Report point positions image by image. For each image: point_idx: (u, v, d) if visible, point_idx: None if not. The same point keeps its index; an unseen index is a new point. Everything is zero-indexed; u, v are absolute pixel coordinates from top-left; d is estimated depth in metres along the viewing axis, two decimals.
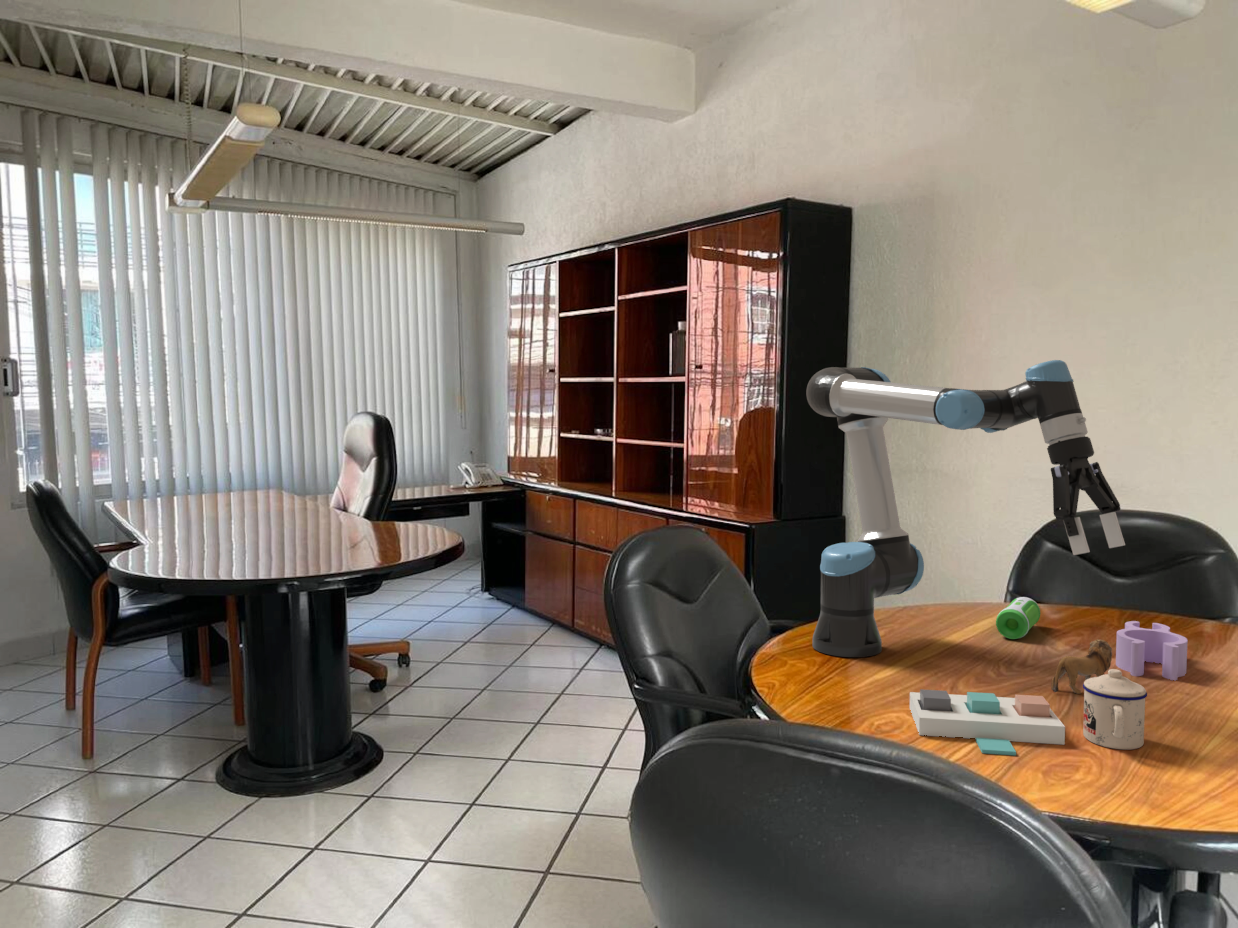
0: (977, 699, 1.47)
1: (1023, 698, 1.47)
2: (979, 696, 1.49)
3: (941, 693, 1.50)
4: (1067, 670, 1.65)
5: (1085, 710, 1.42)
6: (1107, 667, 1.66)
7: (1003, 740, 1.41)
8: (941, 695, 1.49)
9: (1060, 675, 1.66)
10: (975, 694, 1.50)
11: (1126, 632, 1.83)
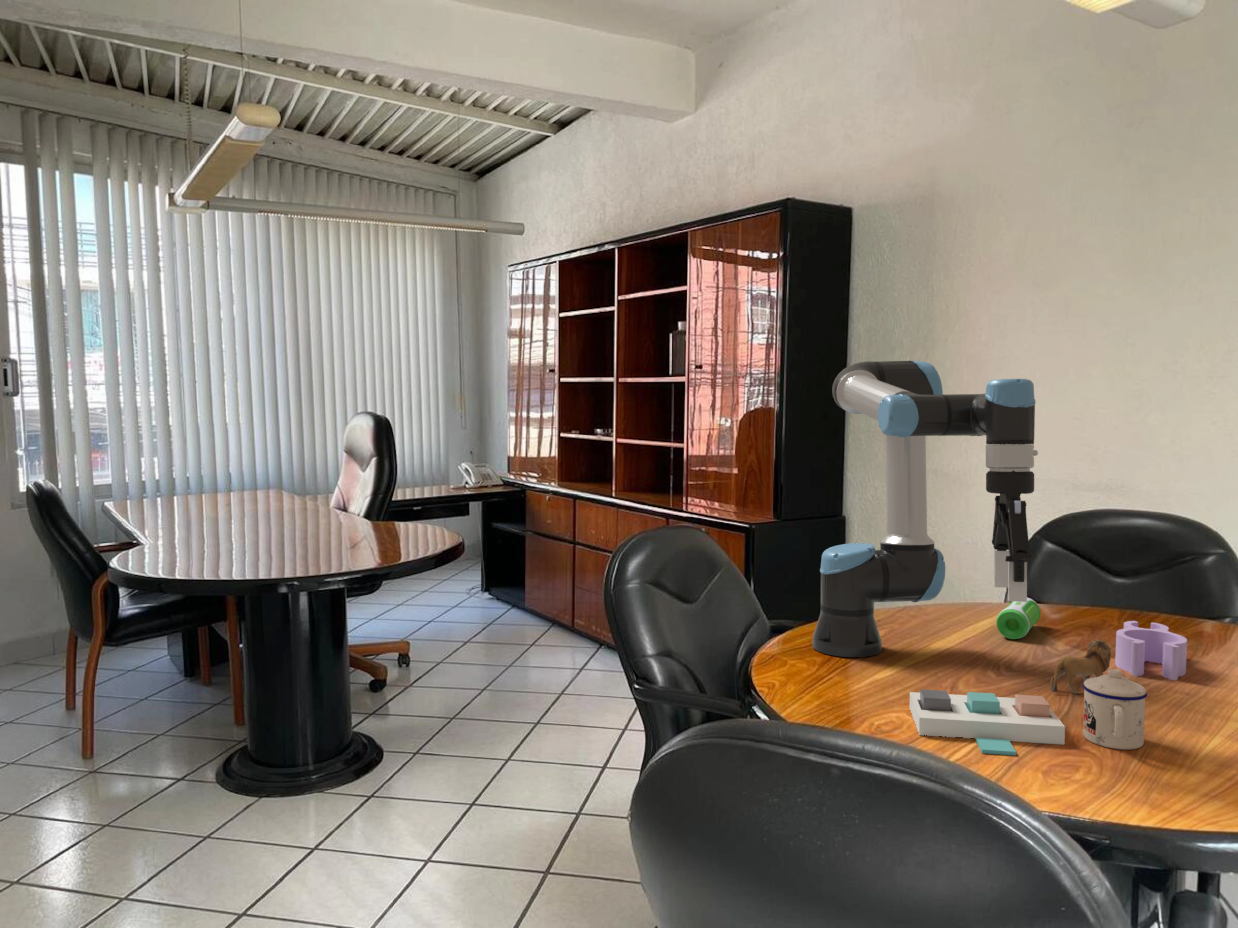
0: (977, 699, 1.47)
1: (1023, 698, 1.47)
2: (979, 696, 1.49)
3: (941, 693, 1.50)
4: (1066, 670, 1.65)
5: (1085, 710, 1.42)
6: (1106, 667, 1.66)
7: (1003, 740, 1.41)
8: (941, 695, 1.49)
9: (1059, 675, 1.66)
10: (975, 694, 1.50)
11: (1125, 632, 1.83)
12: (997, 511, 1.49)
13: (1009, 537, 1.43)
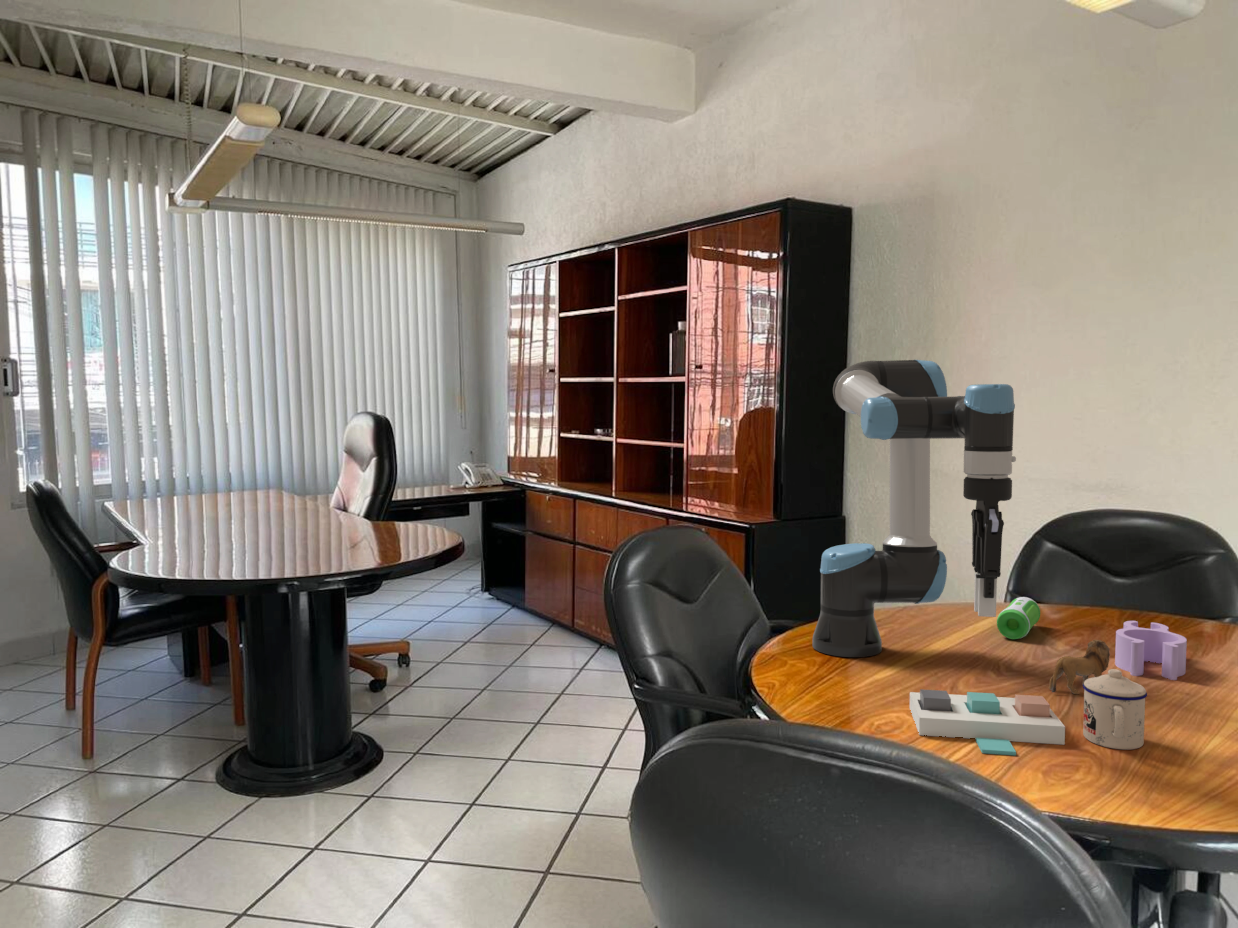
0: (977, 699, 1.47)
1: (1023, 698, 1.47)
2: (979, 696, 1.49)
3: (941, 693, 1.50)
4: (1065, 670, 1.64)
5: (1085, 710, 1.42)
6: (1105, 667, 1.66)
7: (1003, 740, 1.41)
8: (941, 695, 1.49)
9: (1058, 675, 1.66)
10: (975, 694, 1.50)
11: (1125, 632, 1.83)
12: (974, 516, 1.47)
13: (982, 553, 1.44)
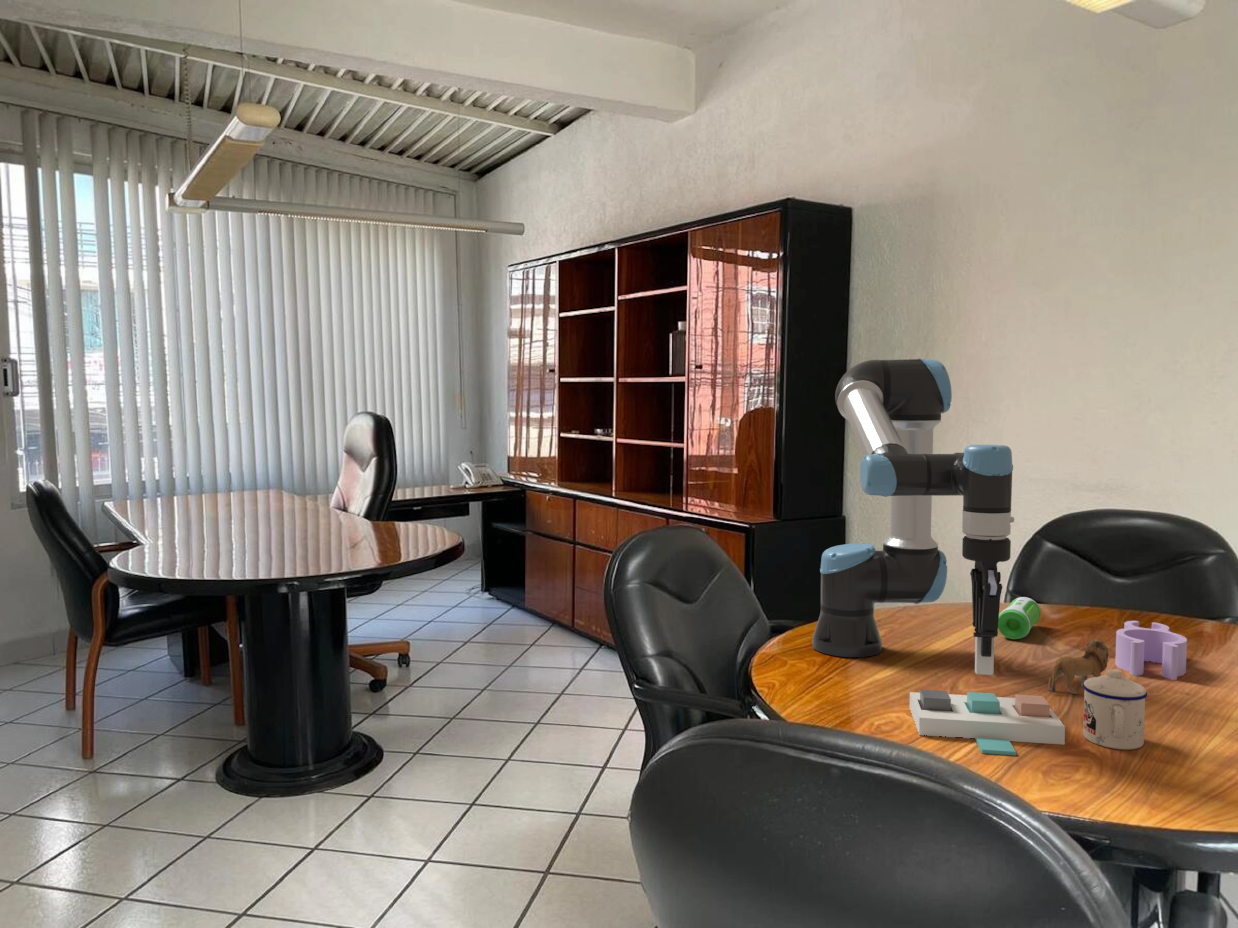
0: (977, 699, 1.47)
1: (1023, 698, 1.47)
2: (979, 696, 1.49)
3: (941, 693, 1.50)
4: (1064, 671, 1.64)
5: (1085, 710, 1.42)
6: (1104, 667, 1.66)
7: (1003, 740, 1.41)
8: (941, 695, 1.49)
9: (1057, 676, 1.66)
10: (975, 694, 1.50)
11: (1126, 632, 1.83)
12: (973, 575, 1.48)
13: (980, 613, 1.46)
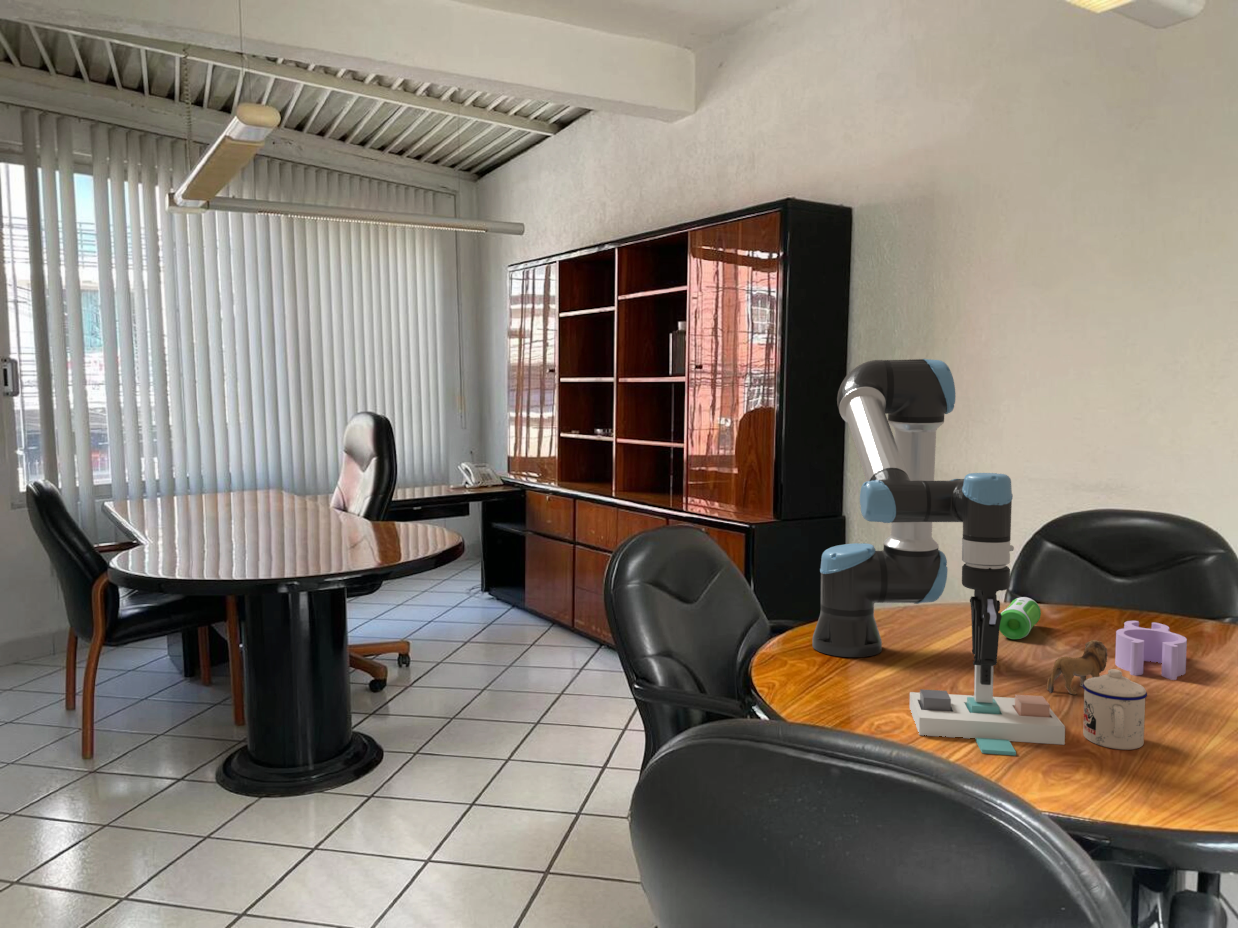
0: (977, 704, 1.47)
1: (1023, 698, 1.47)
2: None
3: (941, 693, 1.50)
4: (1063, 671, 1.64)
5: (1085, 710, 1.42)
6: (1102, 668, 1.66)
7: (1003, 740, 1.41)
8: (941, 695, 1.49)
9: (1056, 676, 1.66)
10: None
11: (1125, 632, 1.83)
12: (973, 603, 1.48)
13: (980, 641, 1.46)
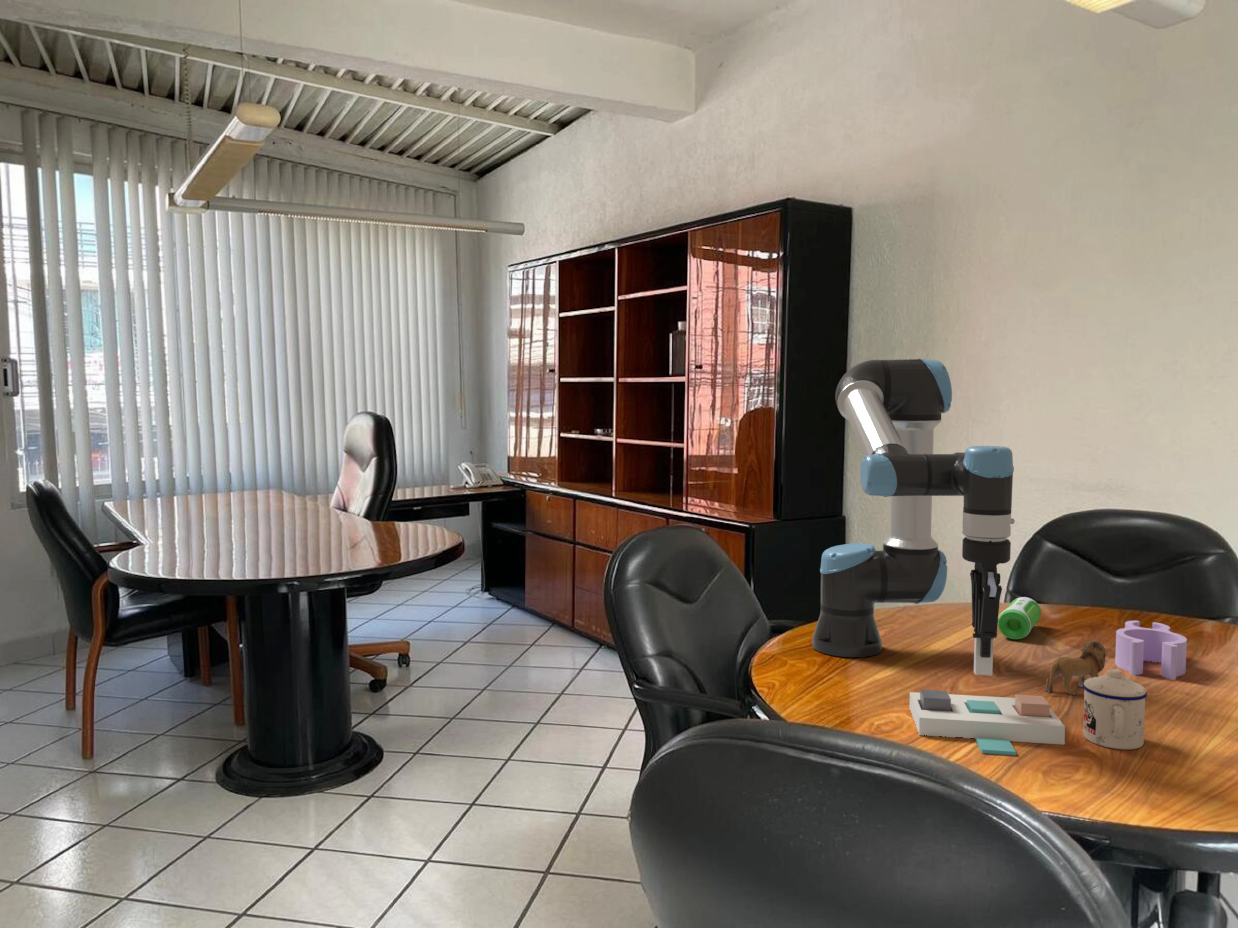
0: (977, 707, 1.47)
1: (1023, 698, 1.47)
2: (979, 704, 1.49)
3: (941, 693, 1.50)
4: (1061, 671, 1.64)
5: (1085, 710, 1.42)
6: (1101, 668, 1.66)
7: (1003, 740, 1.41)
8: (941, 695, 1.49)
9: (1054, 676, 1.66)
10: (975, 702, 1.50)
11: (1126, 631, 1.83)
12: (973, 576, 1.48)
13: (980, 614, 1.46)
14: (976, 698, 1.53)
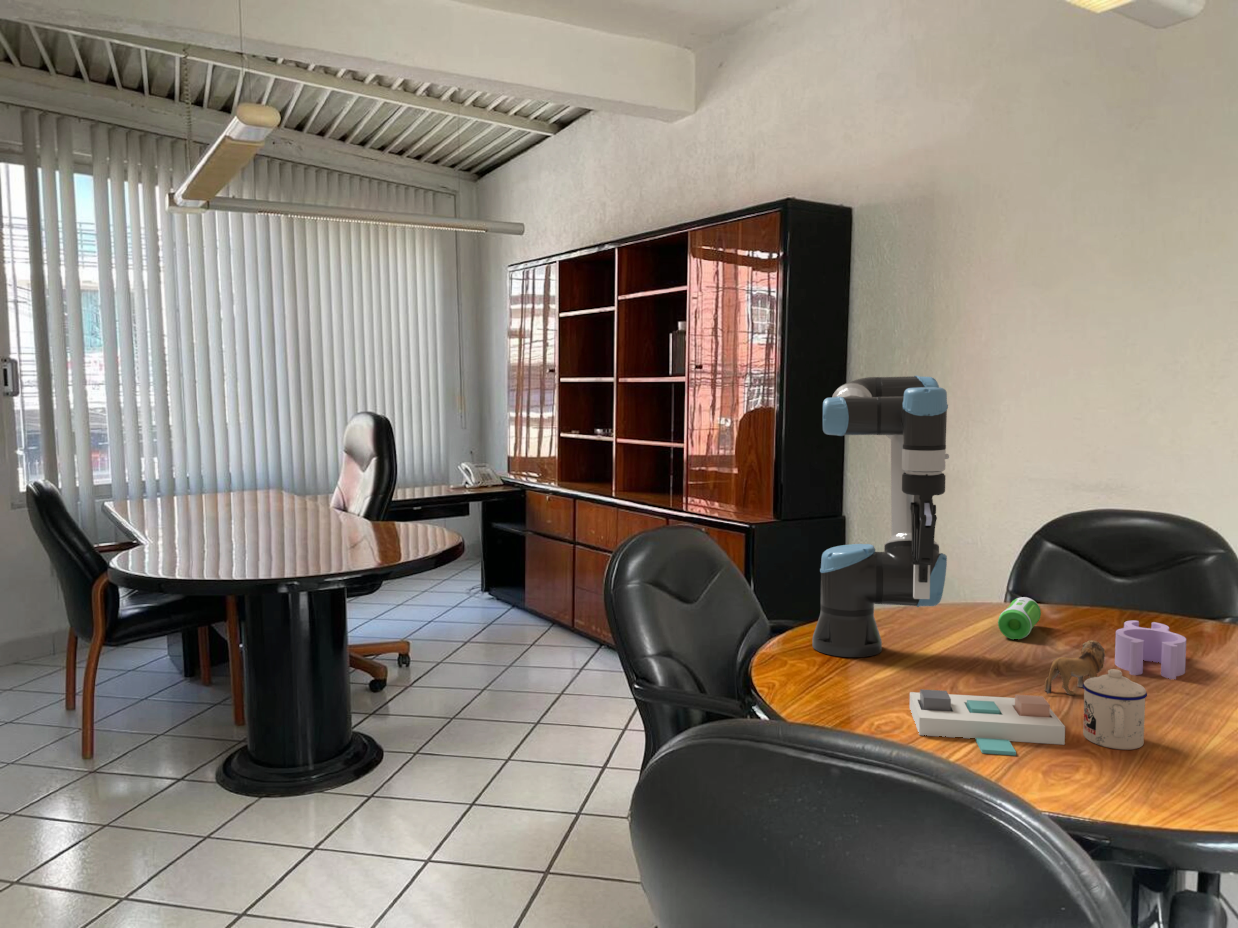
0: (977, 707, 1.47)
1: (1023, 698, 1.47)
2: (979, 704, 1.49)
3: (941, 693, 1.50)
4: (1060, 671, 1.64)
5: (1085, 710, 1.42)
6: (1100, 668, 1.66)
7: (1003, 740, 1.41)
8: (941, 695, 1.49)
9: (1053, 676, 1.66)
10: (975, 702, 1.50)
11: (1125, 631, 1.84)
12: (912, 508, 1.60)
13: (918, 542, 1.58)
14: (976, 698, 1.53)
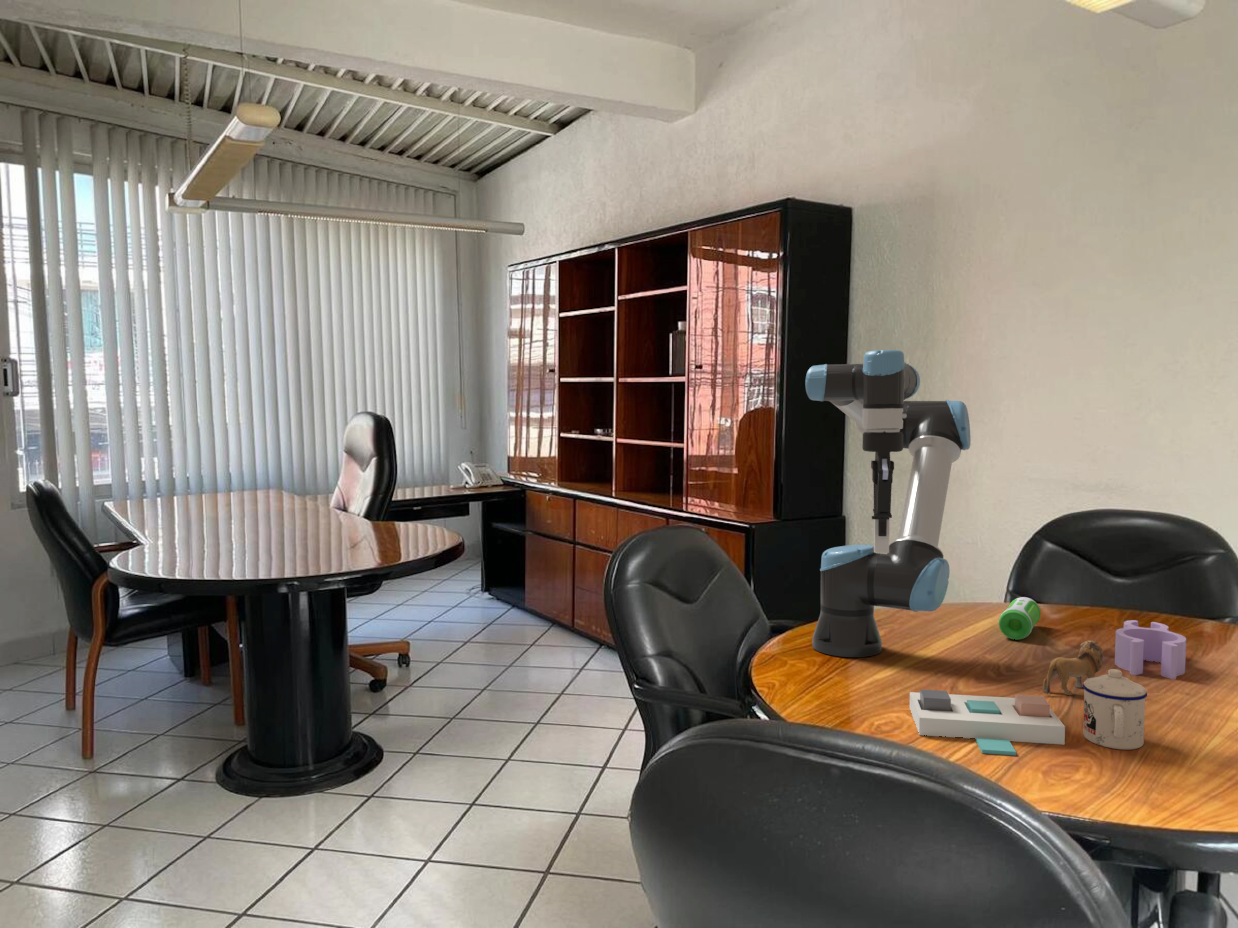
0: (977, 707, 1.47)
1: (1023, 698, 1.47)
2: (979, 704, 1.49)
3: (941, 693, 1.50)
4: (1059, 672, 1.64)
5: (1085, 710, 1.42)
6: (1098, 668, 1.65)
7: (1003, 740, 1.41)
8: (941, 695, 1.49)
9: (1051, 677, 1.65)
10: (975, 702, 1.50)
11: (1125, 631, 1.84)
12: None
13: (877, 497, 1.66)
14: (976, 698, 1.53)
